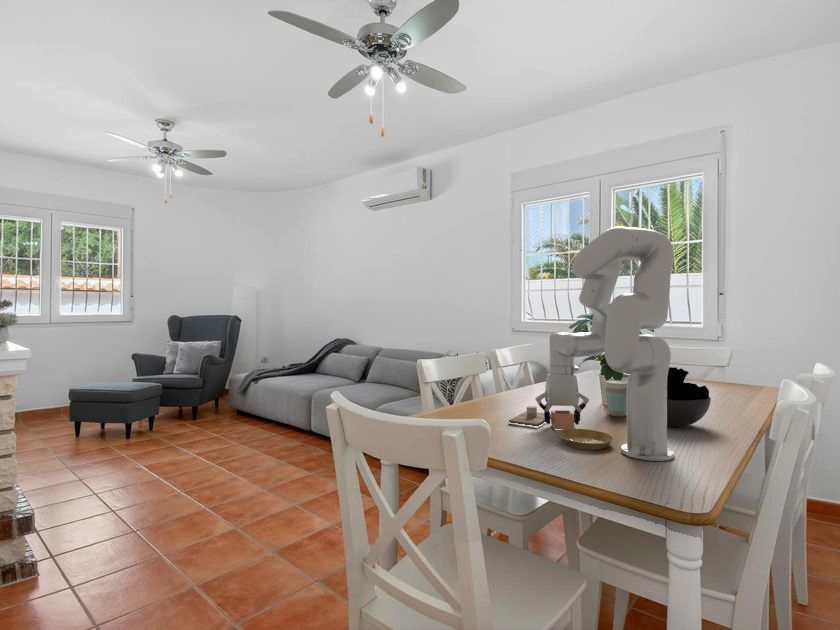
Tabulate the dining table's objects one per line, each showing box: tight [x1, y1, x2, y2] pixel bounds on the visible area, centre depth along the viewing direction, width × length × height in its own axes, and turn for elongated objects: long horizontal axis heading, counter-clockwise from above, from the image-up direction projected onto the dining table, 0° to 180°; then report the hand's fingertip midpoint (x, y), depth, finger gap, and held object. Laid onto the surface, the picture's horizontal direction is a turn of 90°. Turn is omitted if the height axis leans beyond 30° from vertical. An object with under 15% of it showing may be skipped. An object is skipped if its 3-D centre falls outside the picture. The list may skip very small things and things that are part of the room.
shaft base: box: [508, 405, 551, 426], centre depth 157 cm, size 16×10×5 cm, turn 145°
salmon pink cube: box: [550, 409, 575, 431], centre depth 148 cm, size 6×6×6 cm
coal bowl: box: [667, 366, 712, 427], centre depth 149 cm, size 20×20×19 cm
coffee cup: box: [604, 379, 628, 417], centre depth 165 cm, size 8×9×12 cm
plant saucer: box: [558, 428, 615, 450], centre depth 130 cm, size 15×15×3 cm
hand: (562, 423), depth 148 cm, fingers open, 8 cm apart
